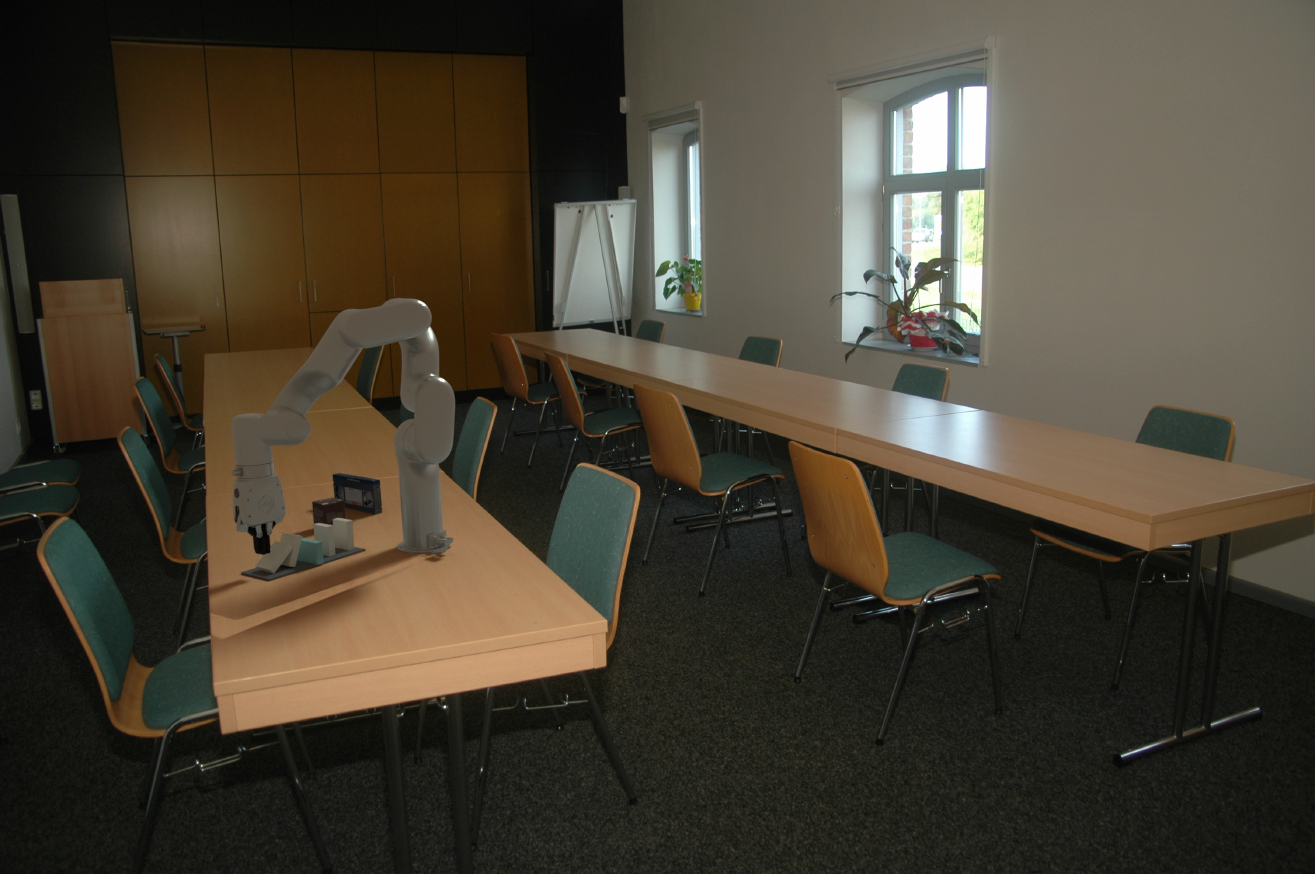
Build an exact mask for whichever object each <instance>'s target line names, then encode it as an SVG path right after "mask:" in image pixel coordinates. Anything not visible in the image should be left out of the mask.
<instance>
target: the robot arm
mask: <svg viewBox="0 0 1315 874" xmlns="http://www.w3.org/2000/svg"><path fill="white" fill-rule="evenodd" d="M432 317H433V316H432V312H431V310H430V308H429V307H428V305H427V304H426V303H425V302H423V301H422V300H419V299H416V298H402V297H397V298H390V299H388V300H387V301H385V302H383V304H382V305H379V306H375V307H369V308H361V309H359V308H348V309H344V310H342V311H341V312H340V313H338V314H337V315H336V317H334V319H333V320H332V322H331V323H330V324H329V327H328V328H327V330H326V331H325V333H324V335H323V336H322V338H320V340H319V342H318V343H317V345H316V346H315V347H314V350H312V353H311V354H310V356H309V357H308V358H307V360H306V361H305V363H304V364H303V365H302V366H301V367H299V369H298V370H297V371H296V373H295V374H294V375H293V376H292V377H291V379H289V380H288V382H286V384H285V385H284V386H283V387H282V389H281V390H280V392H279V393H278V395H277V396H276V398H275V399H274V401H273V402H272V404H271V405H270V407H269V408H268V410H267V412H266V413H262V412H261V413H259V412H258V413H257V412H250V413H241V414H238V415H236V416H233V418H232V420H231V433H232V442H233V452H234V464H235V466H234V469H232V470H231V471H230V473H231V476H232V477H235V478H236V479H234V480H233V481H234V482H233V486H232V487H233V489H232V512H233V520H234V523H235V524H236V527H235V529H236V530H235V531H236V532H238V533H247V534H249V536H250V537H252V542H253V550H254V553H255V554H256V555H261V556H263V555H265V554H269V553H270V547H271V538H270V537H271V535H272V533H273V529H274V528H275V526H277V525H278V524H280V523H282V522H283V521H284V518H285V517H286V515H287V510H286V502H285V501H286V500H285V495H284V490H283V486H282V483H281V480H280V477H279V474H277V473H275V464H274V454H273V446H281V447H282V446H287V447H289V446H291V447H292V446H298V445H300V444H302V443H304V442H305V441H306V440H308V439H309V437H310V435H311V432H312V425H311V422H310V420H309V419H308V418H307V417H306V415H307V413H308V412H309V410H310V408H312V406H313V405H314V404H315V402H317V401H318V399H320V398H321V396H323V395H324V394H326V393H328V392H329V391H331V390H333V389H335V388H336V387H337V386H338V385H340V384H341V383H342V381H343V380H344V378H345V377H346V375H347V374H348V372H349V371H350V369H351V368H352V366H353V364H354V363H355V361H356V359H357V358H358V357H359V356H360V354H361V352H362V350H363V349H370V348H375V347H376V348H377V347H381V346H385V345H390V344H394V343H398V344H399V347H400V350H401V351H400V352H401V376H400V379H401V382H400V393H399V394H400V401H401V405H403V407H404V408H405V409H406V410H408V411H409V412H411V413H414V415H413V416H414V418H409V419H406V420H404V421H403V422H401V423H400V424H399V425H398V427H397V428H396V430H395V433H394V435H393V436H394V437H393V446H394V447H393V448H394V453H395V457H396V462H397V463H396V464H397V468H398V469H397V470H398V479H399V495H400V496H399V497H400V511H401V513H400V514H401V526H402V527H401V528H402V529H401V530H402V541H401V542H399V543H398V544H397V545H396V550H398V551H400V552H403V553H408V554H423V553H426V554H425V556H426V555H427V556H428V555H433V554H434V555H435V554H438V553H442V552H445V551H447V550H448V549H450V548H451V544H452V543H453V542H454V538H453V537H450V536H447V530H445V529H444V523H443V506H442V503H443V502H442V487H441V486H442V485H441V484H442V483H441V481H442V480H441V471H440V465H439V464H441V463H442V462H444V461H445V460H446V459H447V458H448V457H449V455H450V453H451V451H452V449H453V445H454V444H453V443H454V434H455V416H456V415H455V414H456V398H455V392H454V390H453V387H452V386H451V384H450V383H449V382H448V381H447V380H446V379H444V378H443V377H441V376H440V348H439V343H438V340H437V339H438V338H437V337H436V335H435V332H434V329H432V327H431V324H432V321H433V320H432Z"/></svg>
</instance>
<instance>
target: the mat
mask: <svg viewBox="0 0 1315 874" xmlns="http://www.w3.org/2000/svg"><path fill="white" fill-rule="evenodd" d="M365 551H366V548H364V547H363V548H362V547H357V546H354V549H352V550H344V549H339V548H335V555H333V556H326V555H323V561H324V563H322V564H319V565H316V564H312V563H307V562H303V561H298V559H297V562H296V566H295V567H290V566H285V565H280V566H279V568H278V569H277V570H276V572H275V573H274V574H273V573H269V572H264V571H260V570H259V569H258V568H256V567H254V568H251V569H250V568H249V569H246V570H244V571H240V574H241V575H244V576H248V577H252V578H256V579H261V580H264V581H269V582H271V581H274V580H277V579H280V578H284V577H286V576H290V575H293V574H296V573H299V572H303V571H305V570H308V569H312V568H315V567H318V566H320V565H324V564H325V565H326V564H328V563H331V562H334V561H337V560H341V559H344V558H346V557H350V556H353V555H356V554H360V553H362V552H365Z"/></svg>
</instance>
